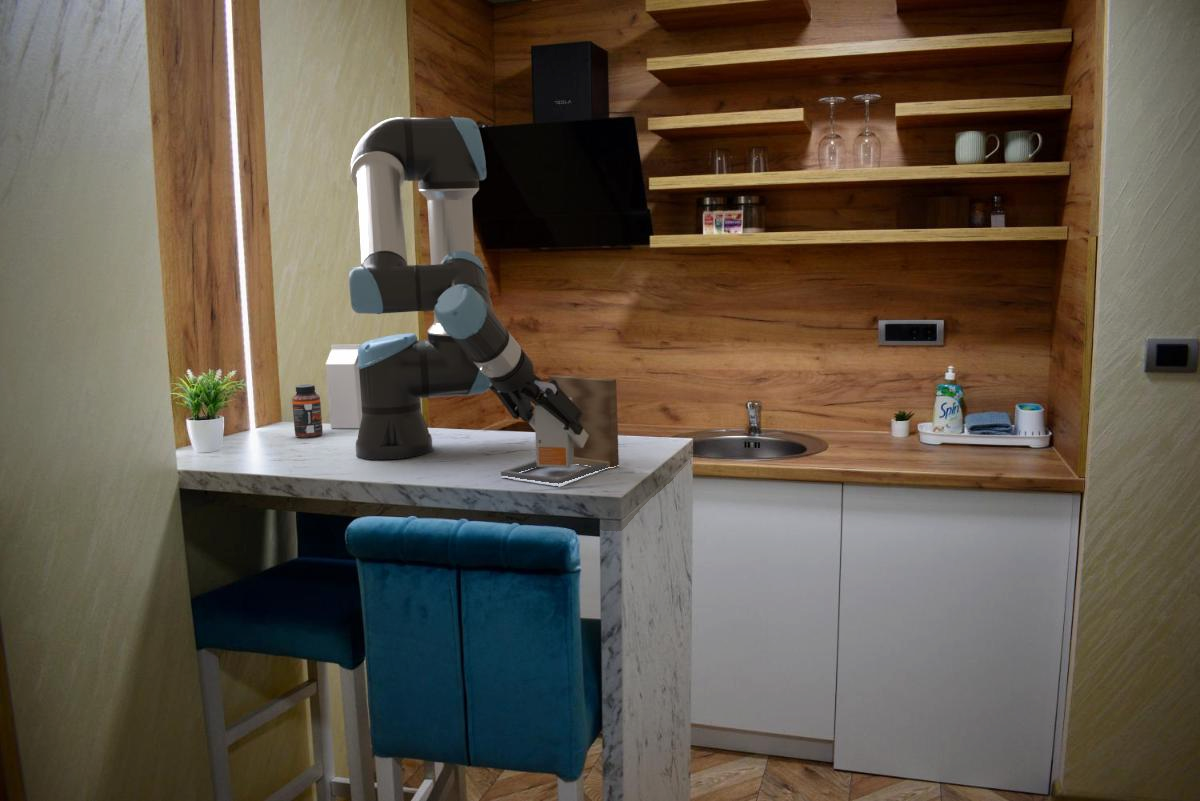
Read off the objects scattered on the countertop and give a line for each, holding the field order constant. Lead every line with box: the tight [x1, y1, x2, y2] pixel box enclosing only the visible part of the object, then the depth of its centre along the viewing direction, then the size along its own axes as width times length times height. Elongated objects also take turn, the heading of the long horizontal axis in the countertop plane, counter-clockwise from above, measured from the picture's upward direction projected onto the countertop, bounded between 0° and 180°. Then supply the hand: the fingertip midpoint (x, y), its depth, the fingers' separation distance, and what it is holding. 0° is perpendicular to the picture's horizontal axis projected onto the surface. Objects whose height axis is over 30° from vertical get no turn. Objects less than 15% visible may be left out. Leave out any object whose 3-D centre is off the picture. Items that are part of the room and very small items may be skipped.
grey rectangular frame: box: [500, 457, 610, 484], centre depth 167 cm, size 13×15×1 cm
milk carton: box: [325, 343, 362, 429], centre depth 215 cm, size 7×7×19 cm
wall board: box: [547, 374, 620, 467], centre depth 172 cm, size 14×2×16 cm, turn 54°
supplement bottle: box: [291, 384, 324, 439], centre depth 206 cm, size 6×6×11 cm
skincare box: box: [534, 398, 574, 469], centre depth 165 cm, size 6×4×12 cm
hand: (567, 439), depth 169 cm, fingers closed on skincare box, 7 cm apart
